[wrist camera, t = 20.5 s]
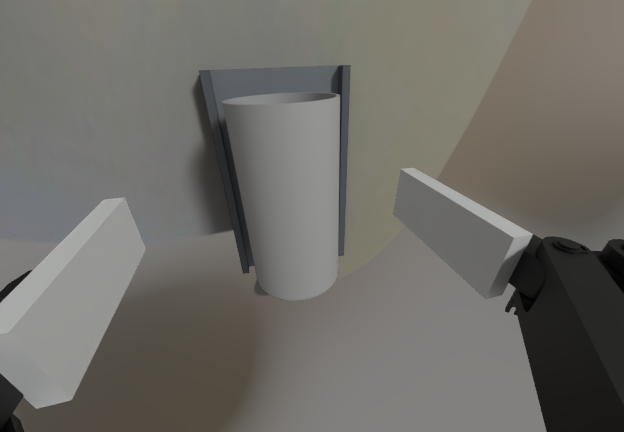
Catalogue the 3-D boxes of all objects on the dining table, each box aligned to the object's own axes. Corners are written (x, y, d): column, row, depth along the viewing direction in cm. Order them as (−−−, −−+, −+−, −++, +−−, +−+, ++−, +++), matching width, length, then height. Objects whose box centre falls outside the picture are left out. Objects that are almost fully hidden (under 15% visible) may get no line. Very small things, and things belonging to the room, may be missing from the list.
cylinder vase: (294, 320, 32) (271, 108, 20) (241, 274, 40) (201, 101, 28) (354, 270, 40) (363, 93, 28) (300, 240, 48) (288, 91, 35)
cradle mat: (339, 248, 49) (343, 255, 47) (243, 265, 45) (243, 273, 44) (344, 65, 34) (350, 65, 32) (201, 70, 31) (198, 70, 29)
